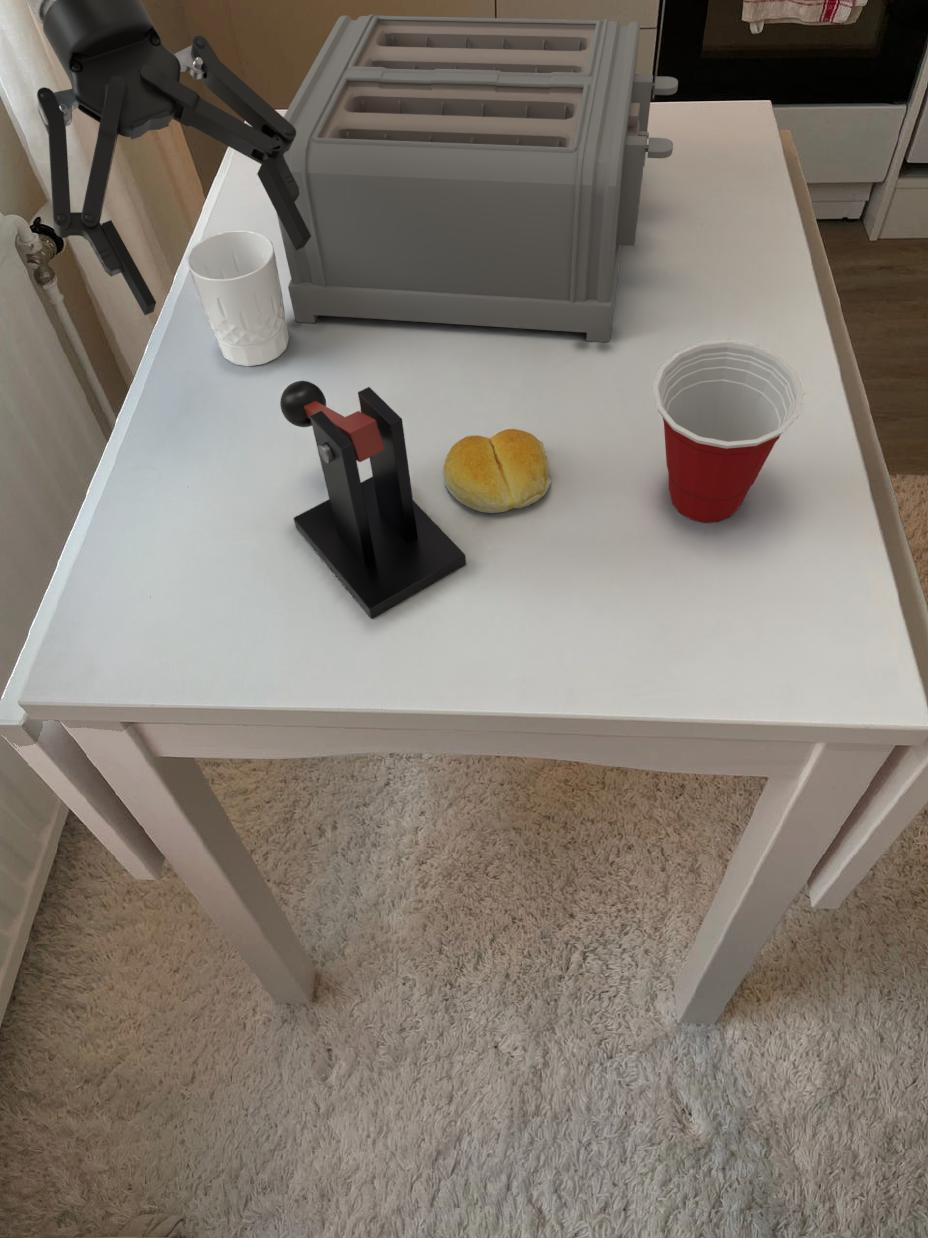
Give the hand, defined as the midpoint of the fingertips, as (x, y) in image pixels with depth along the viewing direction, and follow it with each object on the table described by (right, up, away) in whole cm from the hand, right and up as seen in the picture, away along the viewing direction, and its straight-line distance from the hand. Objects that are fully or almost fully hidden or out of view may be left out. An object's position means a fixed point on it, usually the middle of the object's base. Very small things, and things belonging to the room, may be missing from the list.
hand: (229, 275), depth 75 cm
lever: (+9, -13, -2) cm, 16 cm away
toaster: (+21, +13, +27) cm, 37 cm away
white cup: (-2, 0, +19) cm, 19 cm away
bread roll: (+22, -15, +7) cm, 27 cm away
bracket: (+12, -21, +3) cm, 24 cm away
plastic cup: (+39, -17, +4) cm, 42 cm away
